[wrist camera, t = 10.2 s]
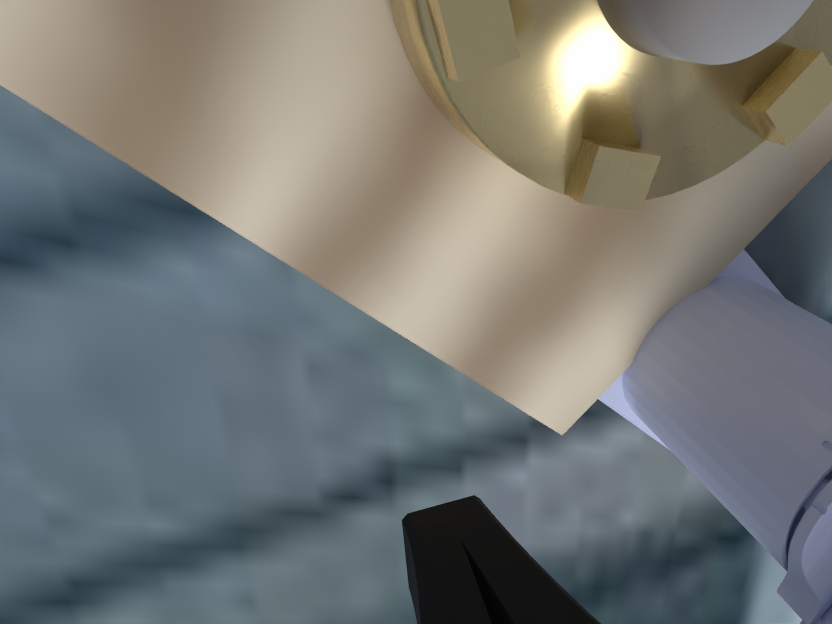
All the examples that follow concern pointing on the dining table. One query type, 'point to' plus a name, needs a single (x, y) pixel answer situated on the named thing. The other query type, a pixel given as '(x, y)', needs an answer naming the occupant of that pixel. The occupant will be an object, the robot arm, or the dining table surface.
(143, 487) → the dining table surface
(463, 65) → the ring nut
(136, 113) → the base plate
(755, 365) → the robot arm
